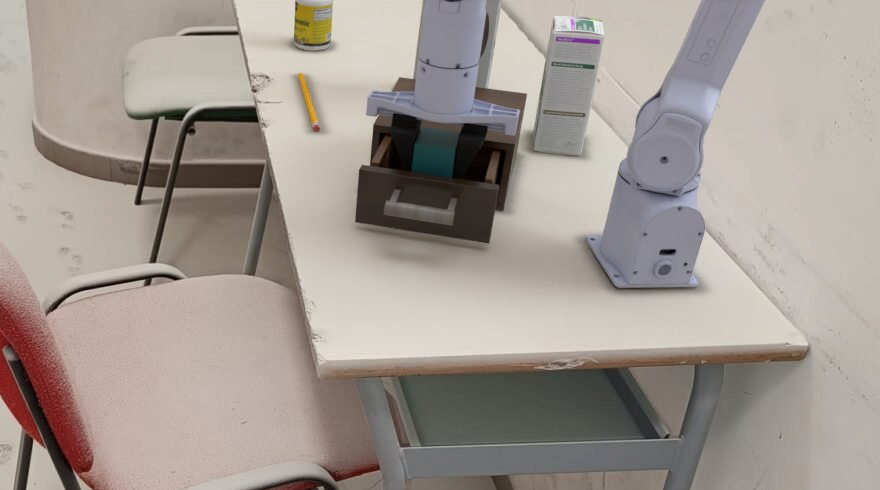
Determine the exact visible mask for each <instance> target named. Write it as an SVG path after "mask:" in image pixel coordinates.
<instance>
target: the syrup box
mask: <svg viewBox="0 0 880 490" xmlns="http://www.w3.org/2000/svg"><path fill="white" fill-rule="evenodd" d="M603 23H604V22H603V20H602V19H599V18H593V17H588V16H587V17H586V16H575V15H553V17H552V21H551V28H550V33H549V37H548V43H547V49H546V55H545V60H544V66H543V67H544V68H543V72H542V78H541V85H540V90H539V97H538V102H537V108H536V112H535V113H536V114H535V120H534V125H533V132H532V138H533V139H532V142H533V143H532V144H533V145H532V147H533V148H532V149H533V151H536V152H540V153H547V154H554V155H565V156H577V157H581V156H582V153H583V148H584V143H585V139H586V133H587V129H588V126H589V119H590V115H591V110H592V106H593V105H592V104H593V99H594V96H595V95H594V94H595V89H596V84H597V79H598V73H599V68H600V62H601V56H602V53H603V48H604V42H605V38H606V37H605V36H606V35H605V30H604V24H603Z"/></svg>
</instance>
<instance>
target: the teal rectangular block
mask: <svg viewBox="0 0 880 490" xmlns="http://www.w3.org/2000/svg"><path fill="white" fill-rule="evenodd" d="M459 134H460V132H453V131H446V130H439V129H431V128H424V127H422V128H421V131H420V133H419V135H418V137H417V140H416V142H415V144H414V153H413V162H412V171H411V172H415V173H422V174H428V175H435V176H442V177H449V178H453V175H454V171H455V164H456V155H457V144H458V137H459Z"/></svg>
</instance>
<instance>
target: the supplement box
mask: <svg viewBox="0 0 880 490" xmlns="http://www.w3.org/2000/svg"><path fill="white" fill-rule="evenodd" d="M425 2H426V0H422V4H421V11H420V20H419V26H418V35H417V37H418V38H417V44H416V51H415V60H414V68H413V77H412V79H416V74H417V64H418V55H419V46H420V36H421V27H422V18H423V9H424V7H425ZM502 2H503V0H486V6H485V9H486V18H485V25H484V32H483V39H482V46H481V53H480V60H479V67H478V74H477V81H476V87H480V88H488V89H489V84H490V77H491V72H492V65H493V59H494V55H495V54H494V53H495V47H496V42H497V37H498V35H497V34H498V29H499V22H500V15H501V8H502V4H503V3H502Z"/></svg>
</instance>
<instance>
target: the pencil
mask: <svg viewBox="0 0 880 490" xmlns="http://www.w3.org/2000/svg"><path fill="white" fill-rule="evenodd" d="M297 77H298V80H299V85H300V86H301V91H302V94H303V98H304V102H305V105H306V108H307V111H308V115H309V118H310V119H309V120H310V121H311V125H312V129H313V131H314V133H319V132H320V131H321V127H320V124H319V120H318V117H317V114H316V111H315V108H314V107H315V106H314V103H313V101H312V97H311V94H310V91H309V88H308V84H307V80H306V77H305V75H304V72H298V75H297Z"/></svg>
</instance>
